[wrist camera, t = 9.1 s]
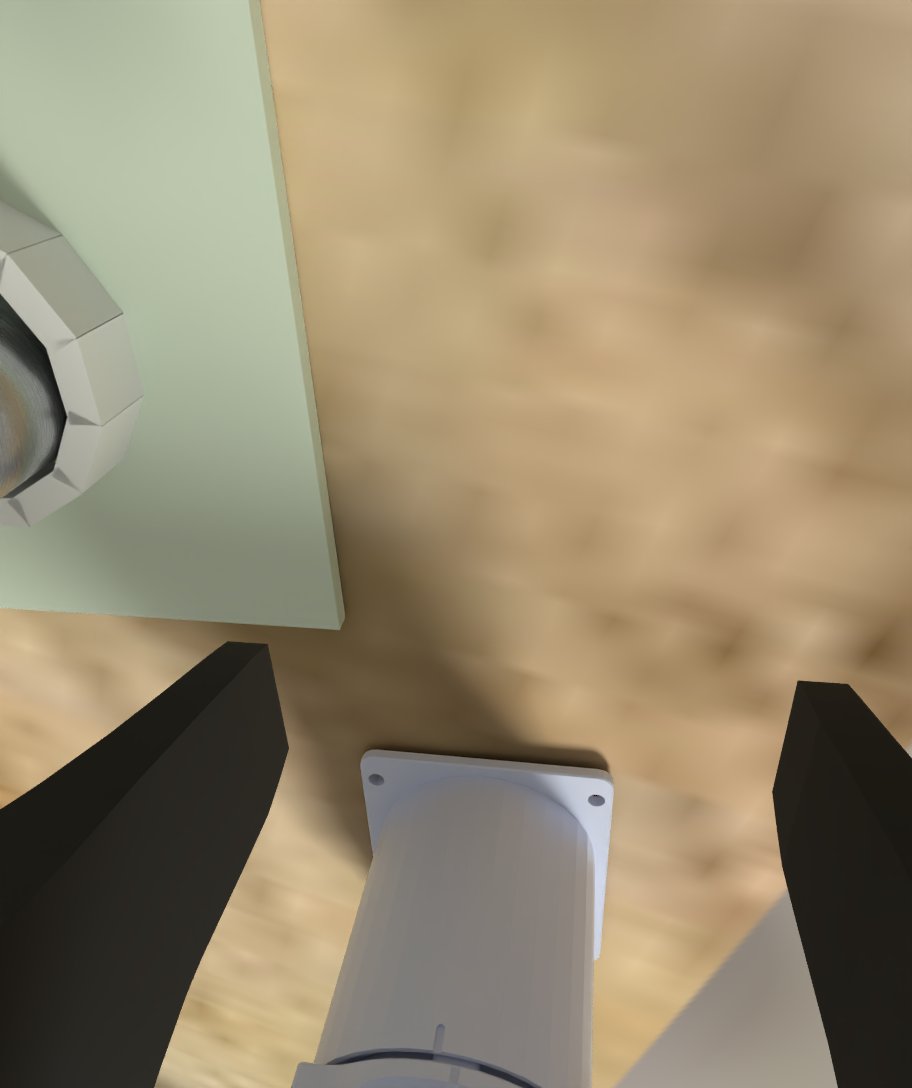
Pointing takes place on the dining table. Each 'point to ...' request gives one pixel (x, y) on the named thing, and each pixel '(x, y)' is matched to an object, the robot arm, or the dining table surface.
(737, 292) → the dining table surface
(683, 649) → the dining table surface
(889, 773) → the robot arm
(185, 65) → the duct flange
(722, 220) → the dining table surface
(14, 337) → the silver canister
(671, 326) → the dining table surface
